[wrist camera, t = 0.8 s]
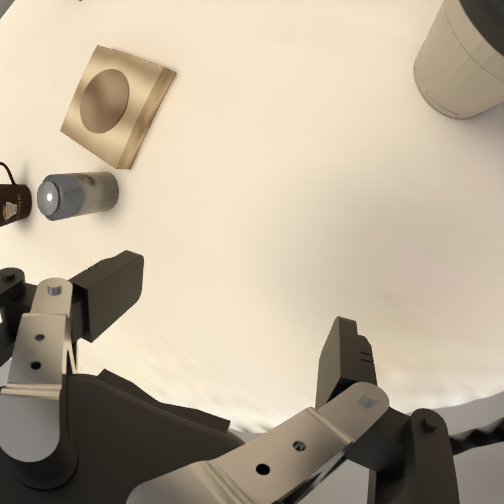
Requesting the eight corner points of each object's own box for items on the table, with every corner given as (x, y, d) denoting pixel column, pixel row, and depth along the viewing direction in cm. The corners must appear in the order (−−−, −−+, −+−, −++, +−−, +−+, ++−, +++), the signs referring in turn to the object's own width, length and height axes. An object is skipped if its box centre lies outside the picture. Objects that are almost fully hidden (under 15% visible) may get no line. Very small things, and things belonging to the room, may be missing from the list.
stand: (110, 49, 36) (95, 44, 33) (176, 73, 34) (161, 66, 31) (74, 131, 41) (58, 130, 38) (130, 168, 39) (113, 169, 36)
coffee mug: (26, 232, 50) (-14, 242, 40) (10, 203, 50) (-28, 210, 41) (44, 186, 45) (-1, 192, 36) (27, 157, 46) (-15, 159, 37)
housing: (99, 165, 41) (39, 167, 30) (123, 182, 40) (63, 187, 30) (87, 199, 43) (30, 208, 32) (110, 217, 42) (52, 230, 32)
